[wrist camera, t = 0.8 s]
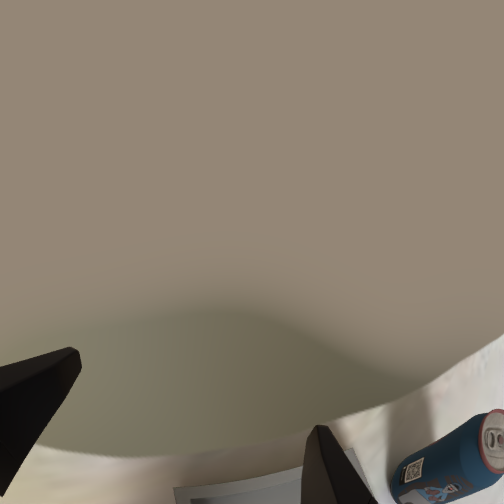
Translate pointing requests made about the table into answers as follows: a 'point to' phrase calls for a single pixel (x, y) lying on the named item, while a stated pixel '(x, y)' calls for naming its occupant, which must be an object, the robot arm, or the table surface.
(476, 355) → the table surface
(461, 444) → the soda can
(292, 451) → the table surface
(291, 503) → the tray
